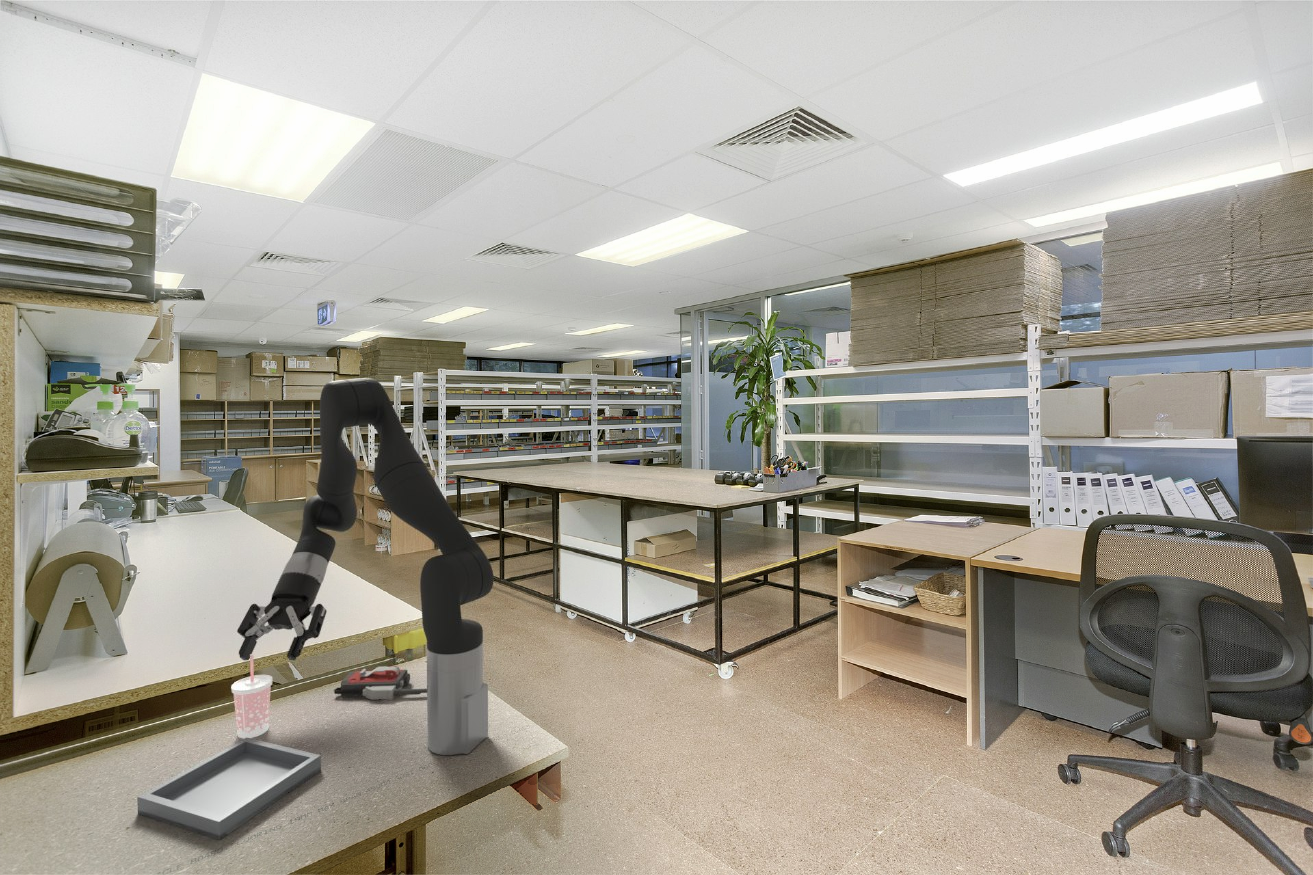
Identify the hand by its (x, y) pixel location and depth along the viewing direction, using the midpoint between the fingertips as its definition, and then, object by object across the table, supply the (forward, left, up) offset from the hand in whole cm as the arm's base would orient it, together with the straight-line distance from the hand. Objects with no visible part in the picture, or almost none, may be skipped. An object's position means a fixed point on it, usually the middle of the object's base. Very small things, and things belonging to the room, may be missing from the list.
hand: (267, 658), depth 109 cm
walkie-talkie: (-13, -16, -12) cm, 24 cm away
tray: (-14, +17, -11) cm, 25 cm away
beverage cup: (-1, +4, -12) cm, 12 cm away
